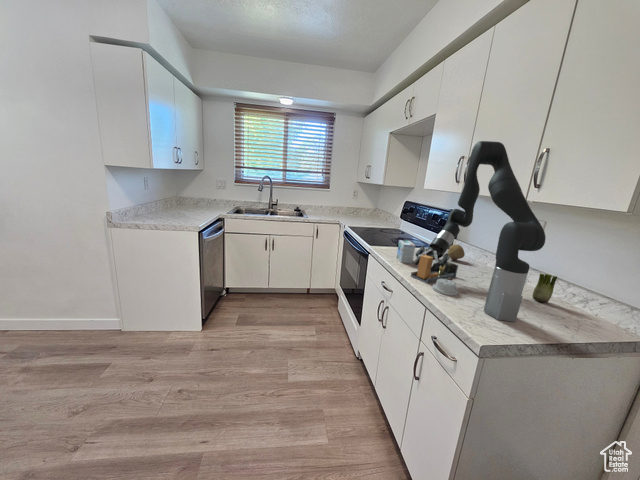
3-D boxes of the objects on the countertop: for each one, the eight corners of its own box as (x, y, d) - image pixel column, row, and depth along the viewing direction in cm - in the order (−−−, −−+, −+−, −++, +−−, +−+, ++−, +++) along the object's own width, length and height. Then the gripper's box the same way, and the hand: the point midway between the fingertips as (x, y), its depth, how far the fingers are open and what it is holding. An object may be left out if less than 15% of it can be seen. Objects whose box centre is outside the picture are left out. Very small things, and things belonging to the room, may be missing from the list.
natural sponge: (465, 261, 157) (468, 245, 155) (459, 263, 151) (462, 247, 149) (450, 257, 164) (453, 242, 161) (443, 259, 158) (447, 243, 156)
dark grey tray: (438, 270, 135) (439, 266, 135) (454, 276, 128) (455, 272, 128) (410, 276, 123) (411, 272, 122) (427, 283, 115) (428, 279, 115)
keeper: (438, 270, 136) (440, 259, 134) (455, 276, 128) (458, 265, 126) (430, 271, 132) (433, 260, 131) (448, 278, 124) (451, 266, 123)
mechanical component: (427, 286, 112) (443, 296, 103) (428, 277, 111) (445, 286, 102) (445, 285, 115) (463, 295, 106) (447, 276, 114) (465, 285, 105)
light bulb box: (395, 257, 153) (398, 239, 151) (407, 258, 153) (410, 240, 151) (400, 262, 143) (403, 244, 140) (412, 263, 143) (416, 245, 140)
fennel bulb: (549, 302, 107) (558, 275, 104) (548, 305, 103) (557, 277, 100) (531, 297, 110) (539, 270, 108) (530, 300, 107) (538, 273, 104)
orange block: (426, 272, 127) (429, 253, 124) (437, 277, 122) (442, 257, 119) (414, 275, 122) (418, 254, 119) (426, 280, 117) (430, 259, 114)
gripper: (426, 233, 126) (407, 258, 122) (454, 240, 114) (434, 268, 111) (431, 243, 130) (412, 267, 126) (458, 251, 119) (439, 277, 115)
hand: (423, 267), depth 119 cm, fingers open, 8 cm apart
